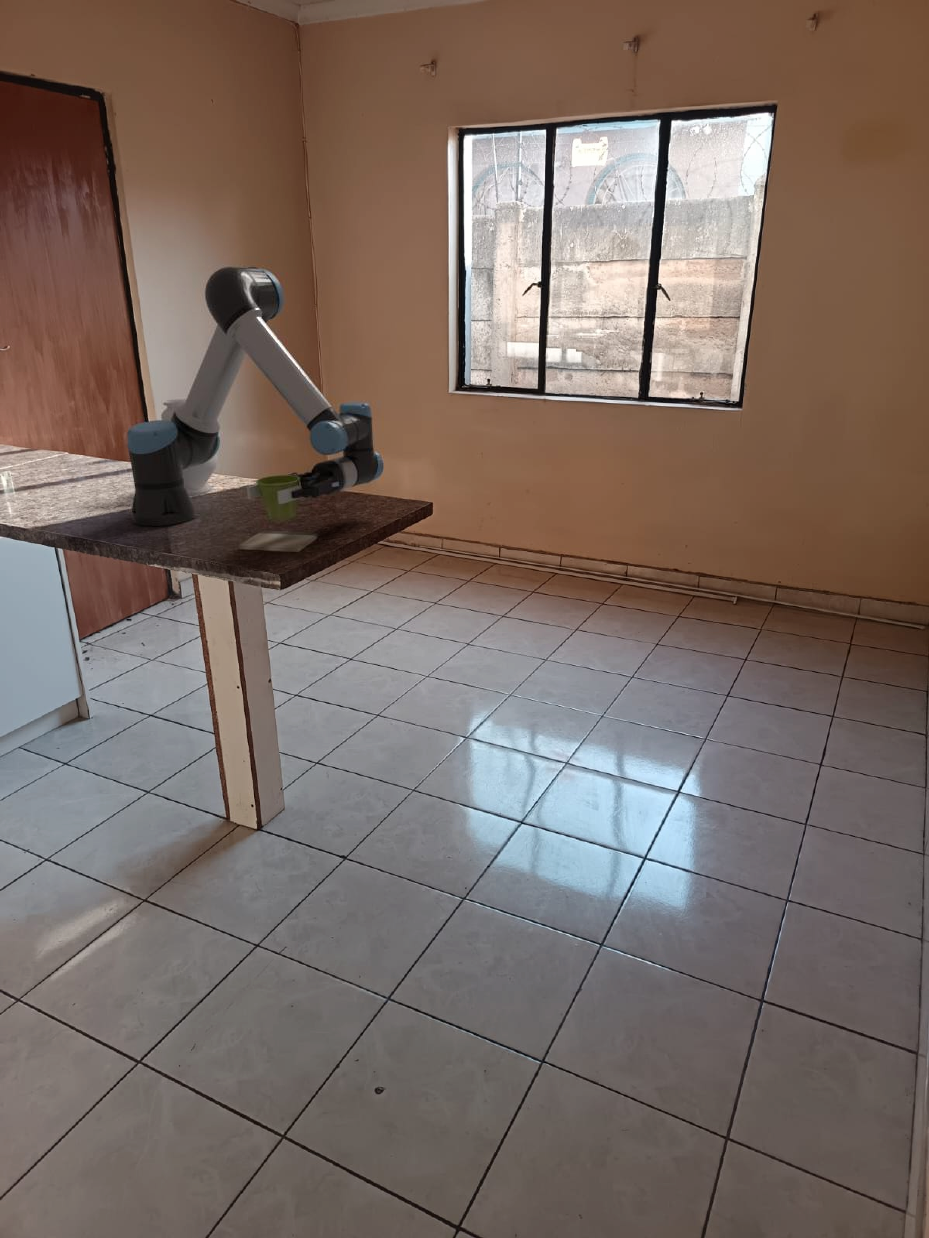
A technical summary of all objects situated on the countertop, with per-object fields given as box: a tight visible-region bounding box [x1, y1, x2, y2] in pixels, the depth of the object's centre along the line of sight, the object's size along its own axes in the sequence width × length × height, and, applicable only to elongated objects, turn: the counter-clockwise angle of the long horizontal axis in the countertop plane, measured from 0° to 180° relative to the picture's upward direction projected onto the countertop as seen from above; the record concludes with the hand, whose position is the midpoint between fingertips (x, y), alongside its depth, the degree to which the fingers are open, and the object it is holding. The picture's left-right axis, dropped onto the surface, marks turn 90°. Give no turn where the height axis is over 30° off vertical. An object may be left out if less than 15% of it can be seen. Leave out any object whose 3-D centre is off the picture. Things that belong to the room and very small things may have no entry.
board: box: [238, 530, 320, 553], centre depth 194 cm, size 14×12×1 cm
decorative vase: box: [160, 398, 219, 497], centre depth 242 cm, size 18×18×25 cm
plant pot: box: [255, 474, 300, 522], centre depth 190 cm, size 9×9×9 cm
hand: (263, 495), depth 186 cm, fingers closed on plant pot, 8 cm apart
